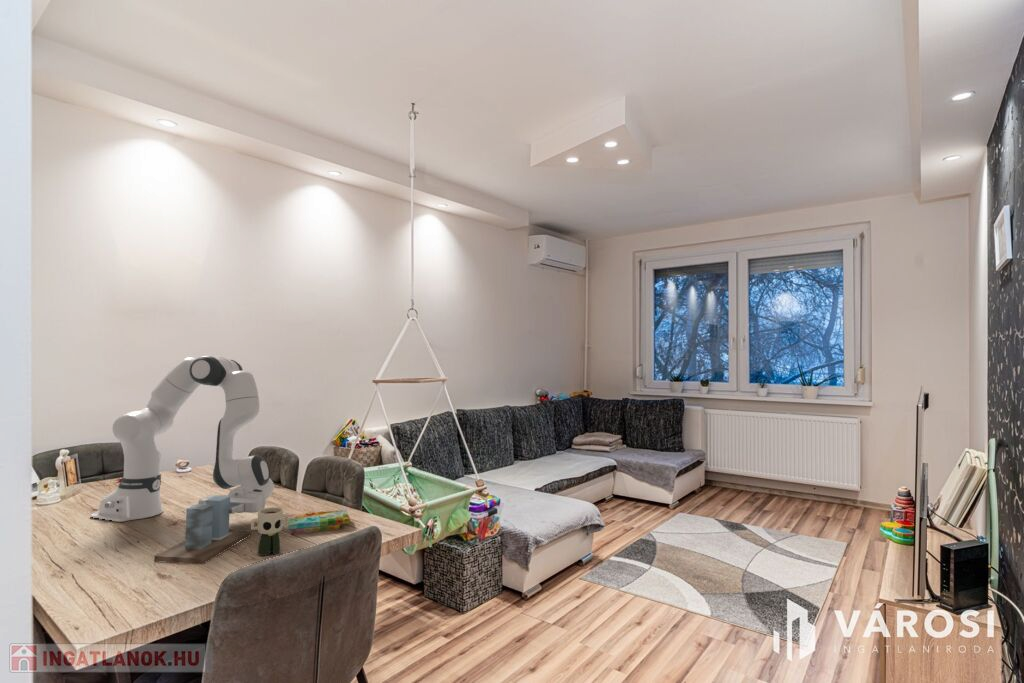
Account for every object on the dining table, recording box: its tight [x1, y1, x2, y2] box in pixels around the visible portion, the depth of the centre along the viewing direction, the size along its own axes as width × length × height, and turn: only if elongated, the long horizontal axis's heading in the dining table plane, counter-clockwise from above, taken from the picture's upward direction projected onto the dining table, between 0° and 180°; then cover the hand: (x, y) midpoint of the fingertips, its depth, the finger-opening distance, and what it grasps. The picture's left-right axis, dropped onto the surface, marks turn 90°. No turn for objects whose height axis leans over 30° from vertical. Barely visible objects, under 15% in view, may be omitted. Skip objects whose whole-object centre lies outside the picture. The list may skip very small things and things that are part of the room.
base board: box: [153, 503, 252, 564], centre depth 161 cm, size 15×24×14 cm, turn 177°
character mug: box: [250, 506, 290, 556], centre depth 158 cm, size 11×7×13 cm, turn 128°
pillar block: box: [206, 496, 230, 539], centre depth 167 cm, size 5×5×12 cm
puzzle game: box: [288, 509, 351, 535], centre depth 182 cm, size 12×5×20 cm
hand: (216, 510), depth 166 cm, fingers open, 8 cm apart
